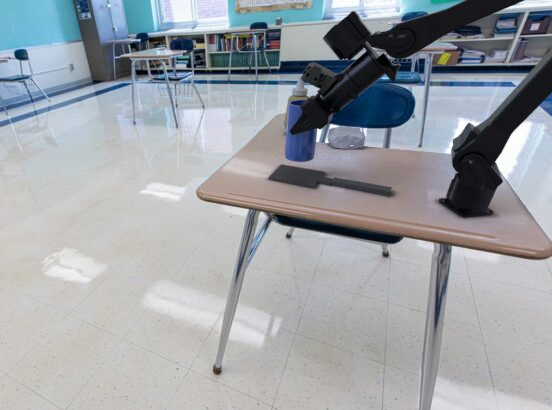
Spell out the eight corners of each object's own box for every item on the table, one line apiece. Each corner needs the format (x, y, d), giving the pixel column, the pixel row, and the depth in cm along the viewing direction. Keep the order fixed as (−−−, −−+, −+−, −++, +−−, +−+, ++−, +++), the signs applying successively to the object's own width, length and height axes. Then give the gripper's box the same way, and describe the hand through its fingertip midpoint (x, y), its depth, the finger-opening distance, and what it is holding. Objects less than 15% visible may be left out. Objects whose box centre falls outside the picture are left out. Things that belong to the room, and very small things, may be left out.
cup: (320, 158, 76) (327, 103, 70) (296, 164, 74) (301, 108, 68) (301, 149, 81) (306, 98, 75) (279, 155, 79) (282, 102, 73)
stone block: (330, 154, 96) (367, 148, 93) (328, 138, 94) (366, 132, 91) (325, 142, 107) (359, 137, 104) (324, 127, 105) (358, 122, 102)
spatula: (392, 185, 74) (393, 181, 73) (387, 203, 67) (388, 198, 67) (281, 166, 86) (281, 162, 86) (268, 179, 80) (268, 175, 79)
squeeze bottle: (311, 132, 109) (318, 75, 101) (303, 139, 104) (310, 79, 95) (288, 129, 113) (292, 74, 104) (279, 136, 108) (283, 78, 99)
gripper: (340, 43, 71) (287, 93, 82) (316, 52, 58) (256, 111, 68) (372, 83, 71) (315, 128, 82) (357, 101, 58) (290, 152, 68)
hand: (295, 128), depth 75 cm, fingers closed on cup, 7 cm apart
